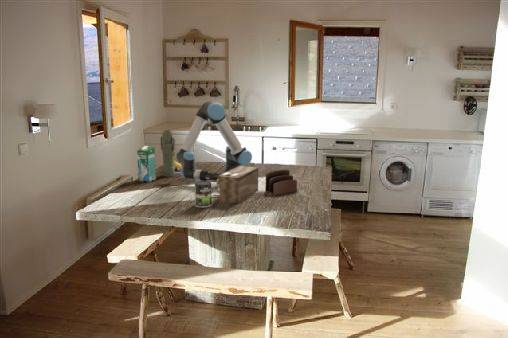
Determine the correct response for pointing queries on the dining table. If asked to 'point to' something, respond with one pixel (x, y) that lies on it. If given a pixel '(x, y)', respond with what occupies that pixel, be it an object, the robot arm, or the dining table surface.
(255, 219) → the dining table surface
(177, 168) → the stuffed giraffe
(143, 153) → the milk carton
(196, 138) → the robot arm
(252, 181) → the box
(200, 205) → the coffee can
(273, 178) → the letter holder
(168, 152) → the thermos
